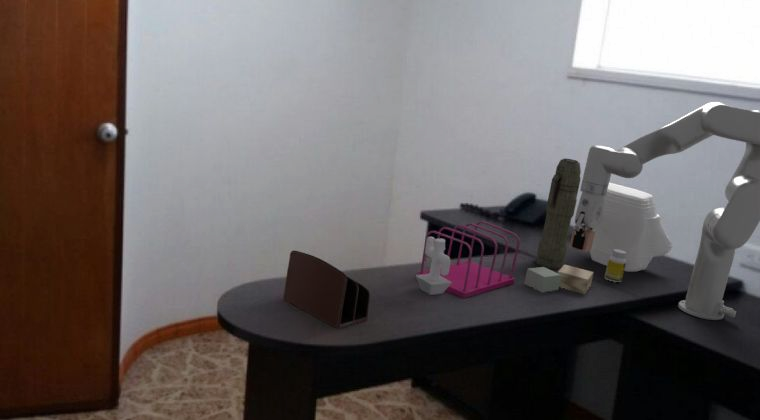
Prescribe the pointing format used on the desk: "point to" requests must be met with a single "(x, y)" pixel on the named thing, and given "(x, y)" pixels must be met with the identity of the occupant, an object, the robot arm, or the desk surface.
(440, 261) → the figurine
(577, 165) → the thermos
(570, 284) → the maple block
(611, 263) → the supplement bottle
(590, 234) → the terracotta block
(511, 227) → the desk surface
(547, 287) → the sage block
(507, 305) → the desk surface
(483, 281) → the file sorter
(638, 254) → the white rounded piece
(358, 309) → the letter holder
